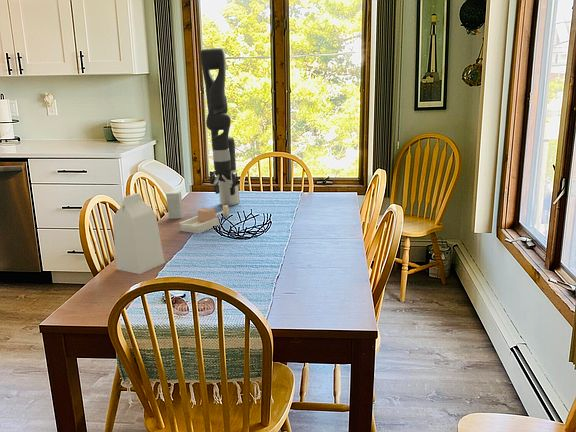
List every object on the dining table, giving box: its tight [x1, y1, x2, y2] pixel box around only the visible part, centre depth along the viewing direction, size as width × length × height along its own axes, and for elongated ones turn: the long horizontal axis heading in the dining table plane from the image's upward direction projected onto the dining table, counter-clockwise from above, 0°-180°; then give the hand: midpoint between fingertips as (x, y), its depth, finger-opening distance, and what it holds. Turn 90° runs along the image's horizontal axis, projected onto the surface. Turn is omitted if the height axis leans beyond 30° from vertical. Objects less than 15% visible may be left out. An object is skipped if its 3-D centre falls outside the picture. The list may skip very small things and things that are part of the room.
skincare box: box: [165, 190, 185, 219], centre depth 260 cm, size 6×4×12 cm
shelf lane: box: [179, 215, 220, 234], centre depth 242 cm, size 13×11×4 cm
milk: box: [112, 192, 166, 275], centre depth 197 cm, size 12×12×26 cm
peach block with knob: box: [196, 205, 230, 222], centre depth 251 cm, size 17×6×6 cm, turn 148°
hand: (225, 194), depth 255 cm, fingers open, 8 cm apart
